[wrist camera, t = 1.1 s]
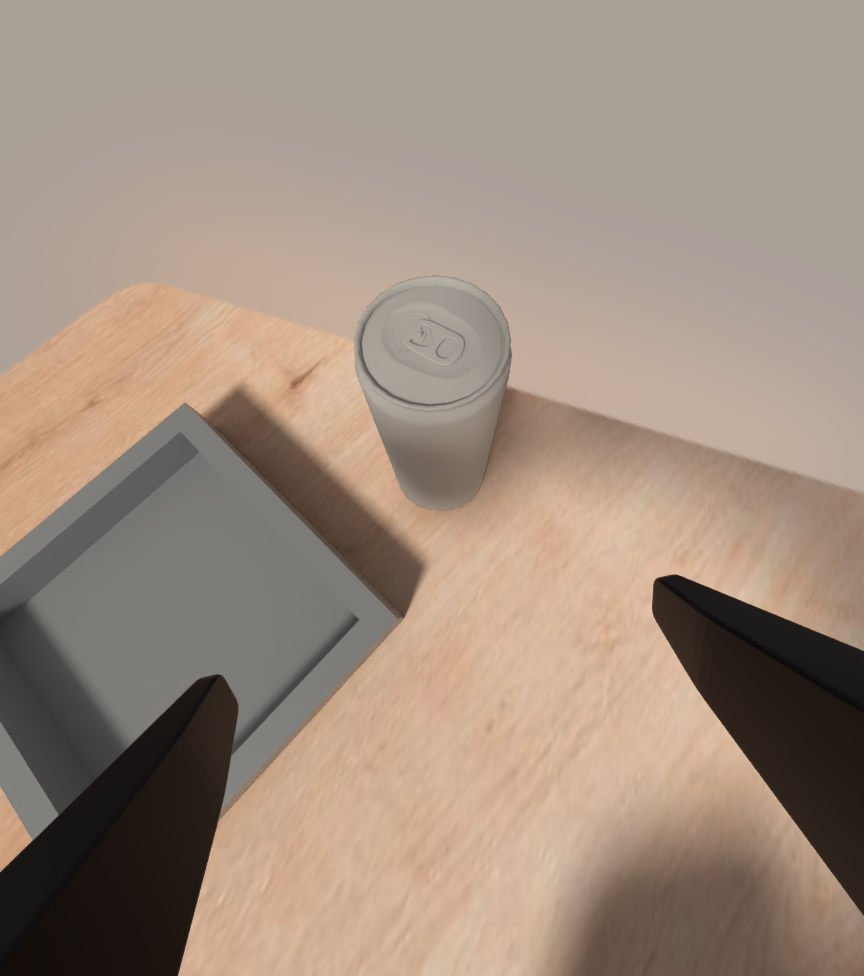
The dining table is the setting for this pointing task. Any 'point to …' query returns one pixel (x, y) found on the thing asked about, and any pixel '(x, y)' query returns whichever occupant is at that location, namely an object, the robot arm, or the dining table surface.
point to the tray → (170, 616)
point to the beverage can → (434, 383)
